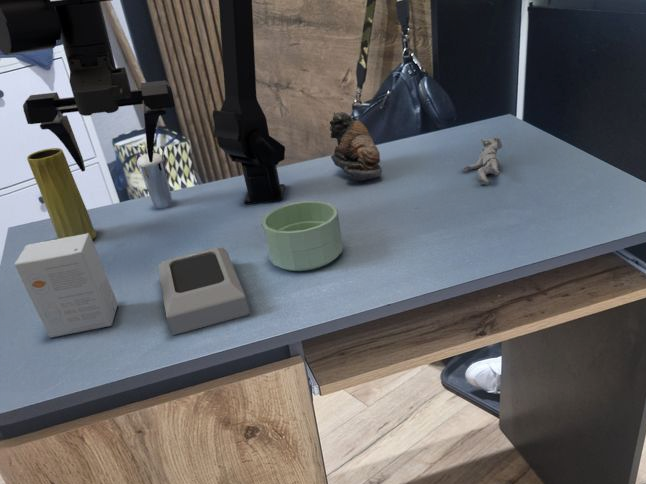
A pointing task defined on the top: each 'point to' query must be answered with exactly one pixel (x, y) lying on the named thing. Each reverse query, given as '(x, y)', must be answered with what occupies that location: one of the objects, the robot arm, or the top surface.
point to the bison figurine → (354, 148)
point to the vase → (60, 193)
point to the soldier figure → (487, 160)
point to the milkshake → (156, 179)
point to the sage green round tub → (302, 235)
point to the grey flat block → (201, 290)
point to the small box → (67, 285)
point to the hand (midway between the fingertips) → (117, 166)
